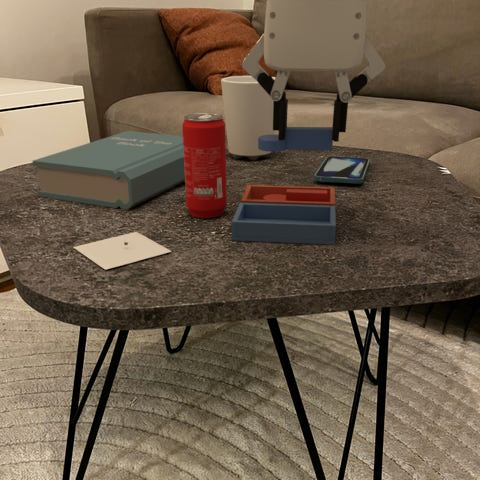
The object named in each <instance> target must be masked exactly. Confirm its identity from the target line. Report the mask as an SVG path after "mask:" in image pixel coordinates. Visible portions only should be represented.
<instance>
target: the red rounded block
mask: <svg viewBox="0 0 480 480" xmlns="http://www.w3.org/2000/svg"><path fill="white" fill-rule="evenodd" d="M263 200H279V201H309V202H327V190H301V189H287V191H286V195H282V194H270V195H266V196H264V197H263Z"/></svg>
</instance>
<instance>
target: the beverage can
mask: <svg viewBox="0 0 480 480" xmlns="http://www.w3.org/2000/svg"><path fill="white" fill-rule="evenodd" d="M223 118H224V116H223V115H222V114H218V113H209V112H207V113H205V112H204V113H203V112H201V113H191V114H187V115H184V117H183V119H184V120H183V122H182V125H181V130H182V136H183V148H184V167H185V181H184V183H185V184H184V185H185V203H186V208H187V209H188V211H189V215H190V216H191V217H193V218H198V219H214V218H218V217H221V216H222V215H224V214H225V209H226V207H227V204H228V203H227V201H228V199H227V198H228V197H227V150H226V149H227V147H226V145H227V144H226V122H225V120H224V119H223Z"/></svg>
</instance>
